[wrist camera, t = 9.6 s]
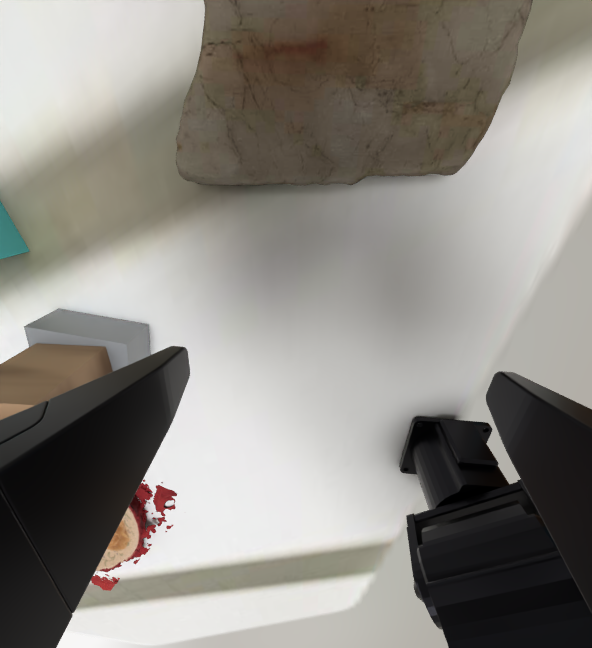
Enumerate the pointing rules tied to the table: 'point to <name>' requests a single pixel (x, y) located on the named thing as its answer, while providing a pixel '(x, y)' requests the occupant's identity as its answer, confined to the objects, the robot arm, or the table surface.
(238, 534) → the table surface
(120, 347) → the grey slab
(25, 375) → the walnut cube
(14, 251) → the teal cube
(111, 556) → the plate with food
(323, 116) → the marble piece
